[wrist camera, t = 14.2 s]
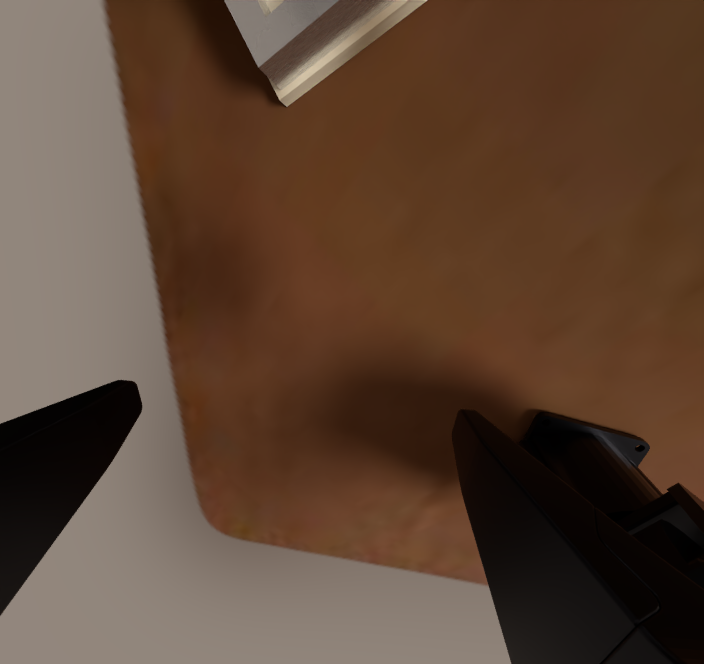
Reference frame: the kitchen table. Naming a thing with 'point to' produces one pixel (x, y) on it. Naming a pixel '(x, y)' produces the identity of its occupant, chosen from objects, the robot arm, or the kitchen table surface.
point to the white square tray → (311, 36)
